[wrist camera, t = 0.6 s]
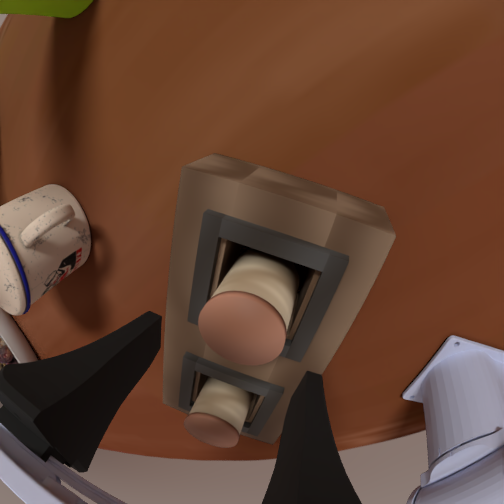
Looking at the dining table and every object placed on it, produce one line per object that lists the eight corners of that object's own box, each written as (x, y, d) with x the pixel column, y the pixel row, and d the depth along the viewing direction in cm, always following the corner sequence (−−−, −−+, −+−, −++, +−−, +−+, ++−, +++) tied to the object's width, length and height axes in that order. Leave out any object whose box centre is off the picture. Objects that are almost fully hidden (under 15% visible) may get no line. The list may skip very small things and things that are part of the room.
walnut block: (384, 207, 17) (397, 241, 13) (282, 408, 28) (271, 449, 24) (215, 153, 19) (176, 169, 14) (181, 371, 29) (160, 407, 25)
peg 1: (309, 260, 17) (296, 316, 12) (288, 315, 19) (270, 375, 14) (239, 237, 17) (204, 283, 13) (226, 293, 19) (194, 346, 15)
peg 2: (261, 379, 22) (242, 432, 18) (249, 405, 24) (232, 452, 20) (211, 361, 23) (185, 410, 18) (205, 389, 25) (182, 433, 20)
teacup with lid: (65, 277, 29) (-10, 339, 19) (26, 205, 26) (-57, 252, 16) (130, 239, 24) (26, 322, 14) (81, 145, 21) (-41, 189, 11)
